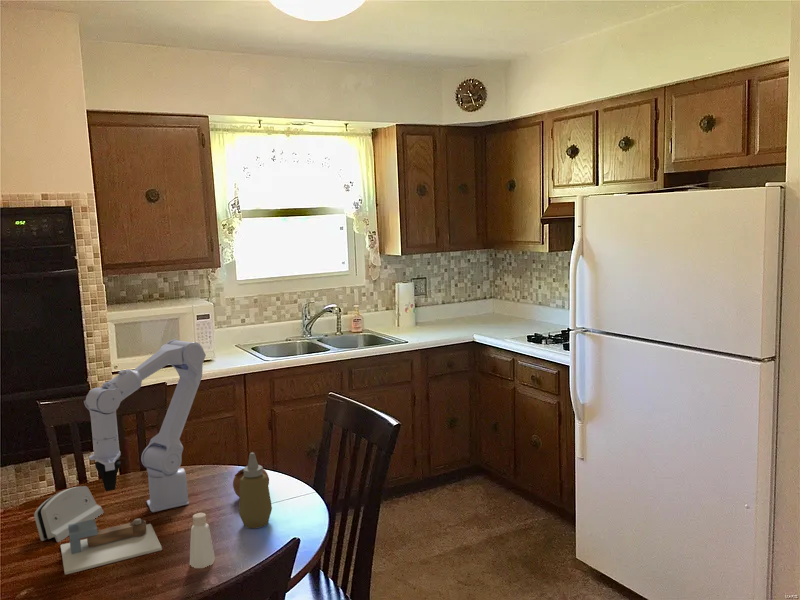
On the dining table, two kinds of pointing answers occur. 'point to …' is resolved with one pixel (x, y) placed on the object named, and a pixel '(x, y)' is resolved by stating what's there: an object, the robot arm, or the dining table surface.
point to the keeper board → (103, 547)
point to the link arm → (118, 532)
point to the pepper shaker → (201, 543)
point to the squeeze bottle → (254, 495)
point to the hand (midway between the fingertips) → (110, 489)
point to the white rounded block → (65, 512)
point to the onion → (237, 481)
